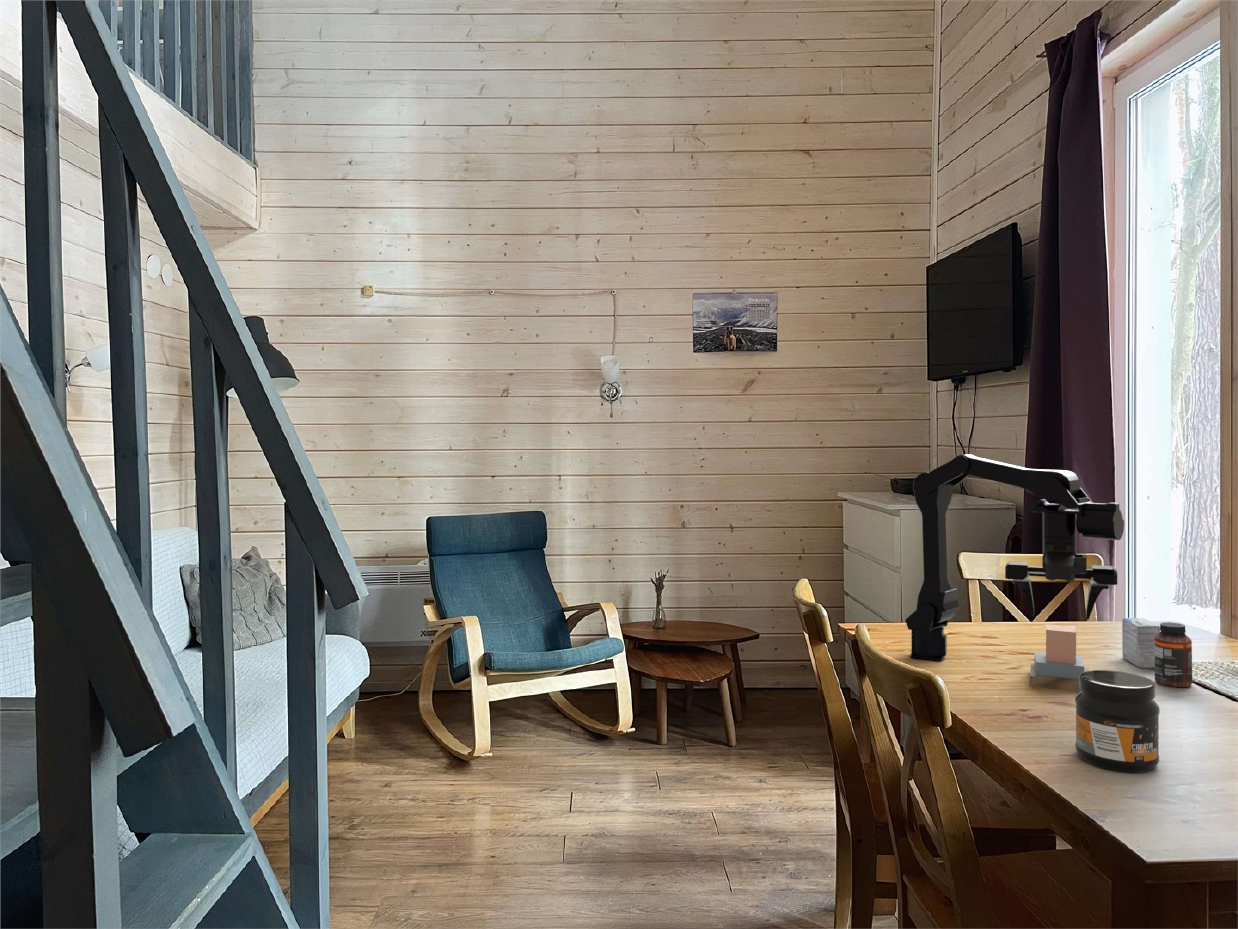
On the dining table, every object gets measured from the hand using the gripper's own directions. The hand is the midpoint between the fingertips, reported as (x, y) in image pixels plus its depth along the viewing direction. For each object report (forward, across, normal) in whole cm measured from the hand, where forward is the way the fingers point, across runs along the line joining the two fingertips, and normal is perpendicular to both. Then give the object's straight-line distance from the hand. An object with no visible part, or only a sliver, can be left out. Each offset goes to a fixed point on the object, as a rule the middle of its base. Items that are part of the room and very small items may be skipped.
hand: (1059, 617), depth 159 cm
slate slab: (+10, 0, 0) cm, 11 cm away
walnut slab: (+13, 0, 0) cm, 13 cm away
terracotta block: (+8, 0, 0) cm, 8 cm away
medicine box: (+13, +15, +21) cm, 29 cm away
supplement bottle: (+13, +19, +7) cm, 24 cm away
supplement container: (+13, +7, -40) cm, 43 cm away
